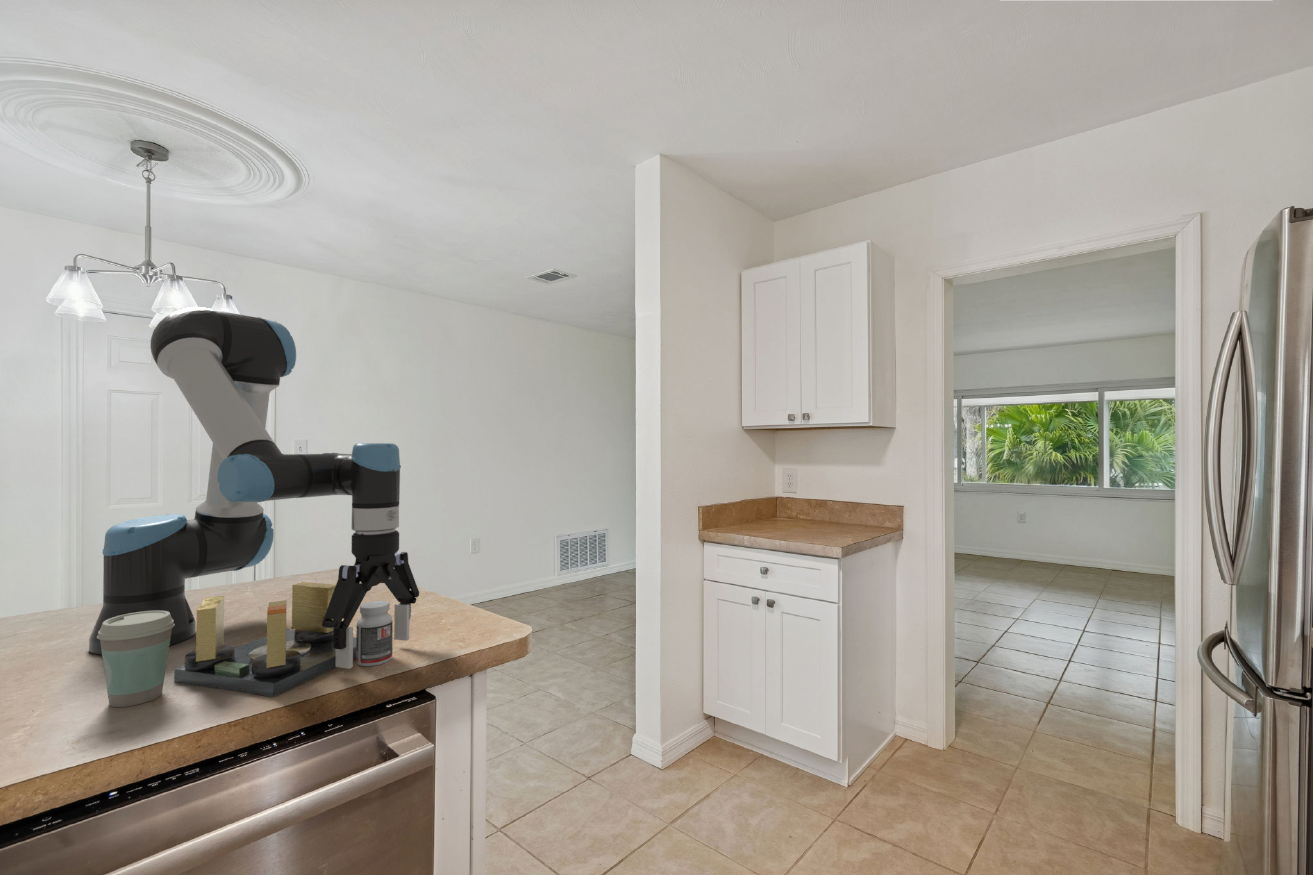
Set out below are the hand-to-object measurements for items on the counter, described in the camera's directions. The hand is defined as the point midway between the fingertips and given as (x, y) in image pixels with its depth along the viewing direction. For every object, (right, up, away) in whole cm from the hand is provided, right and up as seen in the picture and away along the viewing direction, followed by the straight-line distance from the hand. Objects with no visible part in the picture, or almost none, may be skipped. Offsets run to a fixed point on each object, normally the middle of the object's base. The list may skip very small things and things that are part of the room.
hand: (374, 652), depth 100 cm
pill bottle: (0, -2, 0) cm, 2 cm away
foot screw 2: (-13, +1, +5) cm, 14 cm away
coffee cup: (-28, -1, -15) cm, 32 cm away
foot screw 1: (-23, +1, -7) cm, 24 cm away
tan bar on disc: (-11, +1, -9) cm, 14 cm away
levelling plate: (-15, -1, -2) cm, 15 cm away
